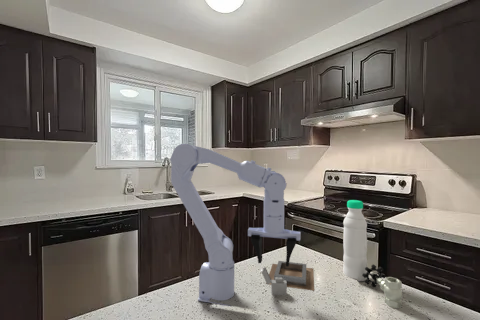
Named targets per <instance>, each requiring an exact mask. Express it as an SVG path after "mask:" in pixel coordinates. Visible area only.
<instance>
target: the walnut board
mask: <svg viewBox="0 0 480 320" xmlns="http://www.w3.org/2000/svg"><path fill="white" fill-rule="evenodd" d="M277 264H278V263H277ZM277 264H276V263H272V264H271V267H270V270H269V272H268V274H269V276H270V278H271V280H274V274H275V271H276V268H277ZM280 274H281V275H288V276H296V277H302V271H299V270H290V269H281V273H280ZM314 274H315V271H314V268H313V267H312V268H311V267H306V286H299V285H292V284H287V288H292V289H298V290H306V291H315V279H314V278H315V277H314ZM265 285H270V286H271V283H270V284H267V283H266V282H265Z"/></svg>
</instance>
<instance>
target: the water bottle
mask: <svg viewBox="0 0 480 320" xmlns="http://www.w3.org/2000/svg"><path fill="white" fill-rule="evenodd" d="M346 207H347V209H348V212H347V213H346V215H345V217H344V219H343V222H342V224H343V236H342V237H343V239H342V240H343V241H342V242H343V243H342V245H343V247H342V248H343V257H342V259H343V260H342V263H343V266H342V267H343V269H342V272H343V275H344V276H345V277H347V278H350V279H355V280H356V281H357V282H365V280H367V278H364V277H363V276H362V274H363V273H365V274H366V273H367V271H366V270H365V268H366V267H368V266H367V264H368V259H367V253H368V234H367V232H368V231H367V227H368V223H367V220H366V219H365V216H364V214H363V212H362V211H363V209H364V202H363V201H362V200H357V199H349V200H348V201H347V202H346Z"/></svg>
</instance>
